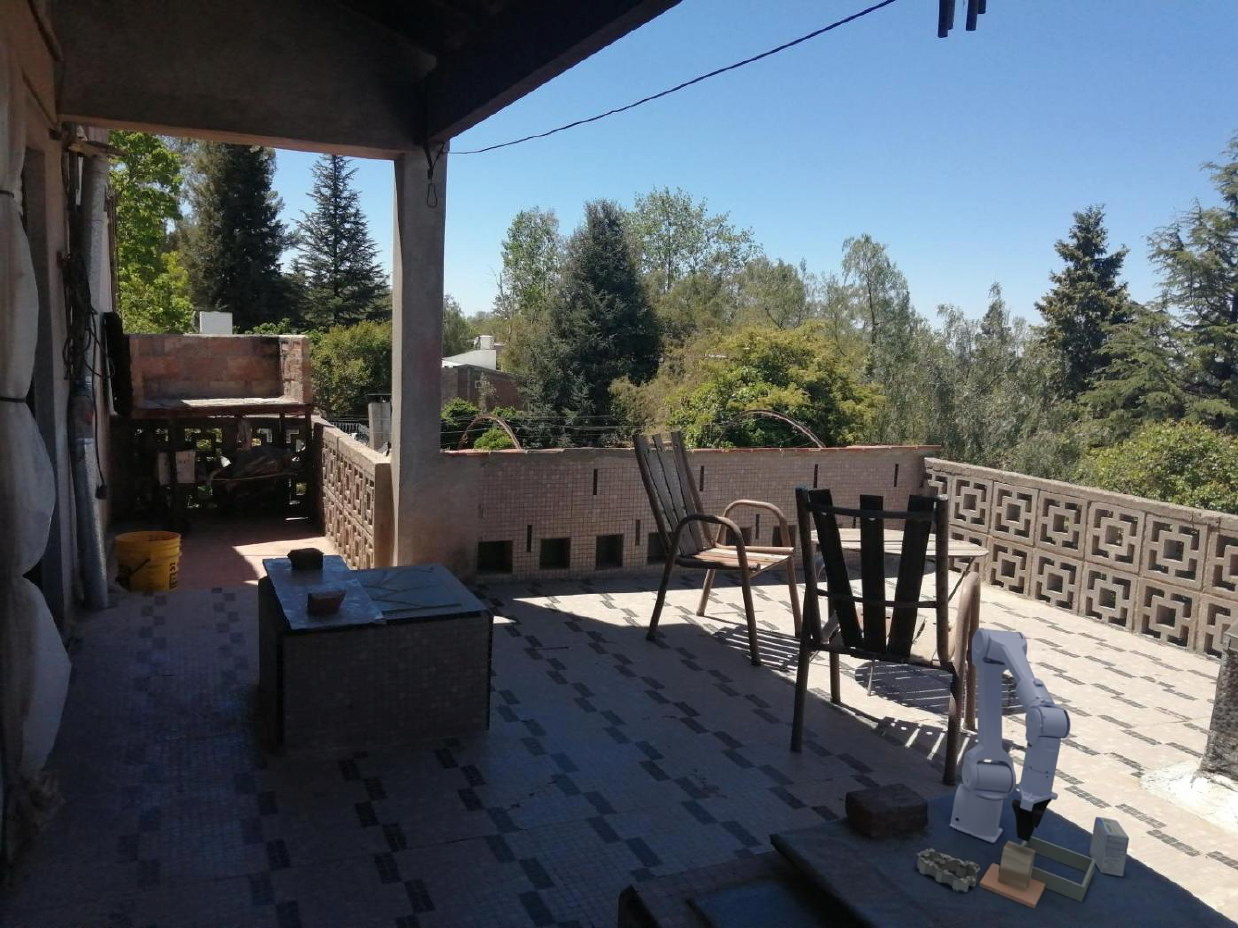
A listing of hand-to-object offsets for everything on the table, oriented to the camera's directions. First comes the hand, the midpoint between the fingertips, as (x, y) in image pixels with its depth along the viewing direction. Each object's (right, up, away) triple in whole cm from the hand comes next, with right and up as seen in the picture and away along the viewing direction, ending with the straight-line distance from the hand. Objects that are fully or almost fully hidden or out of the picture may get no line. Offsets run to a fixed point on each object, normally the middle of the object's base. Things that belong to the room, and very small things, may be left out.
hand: (1027, 832), depth 181 cm
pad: (-4, -10, -2) cm, 11 cm away
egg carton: (-17, -9, -1) cm, 19 cm away
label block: (-4, -9, -2) cm, 10 cm away
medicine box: (+21, -12, +11) cm, 26 cm away
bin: (+7, -10, +5) cm, 13 cm away
